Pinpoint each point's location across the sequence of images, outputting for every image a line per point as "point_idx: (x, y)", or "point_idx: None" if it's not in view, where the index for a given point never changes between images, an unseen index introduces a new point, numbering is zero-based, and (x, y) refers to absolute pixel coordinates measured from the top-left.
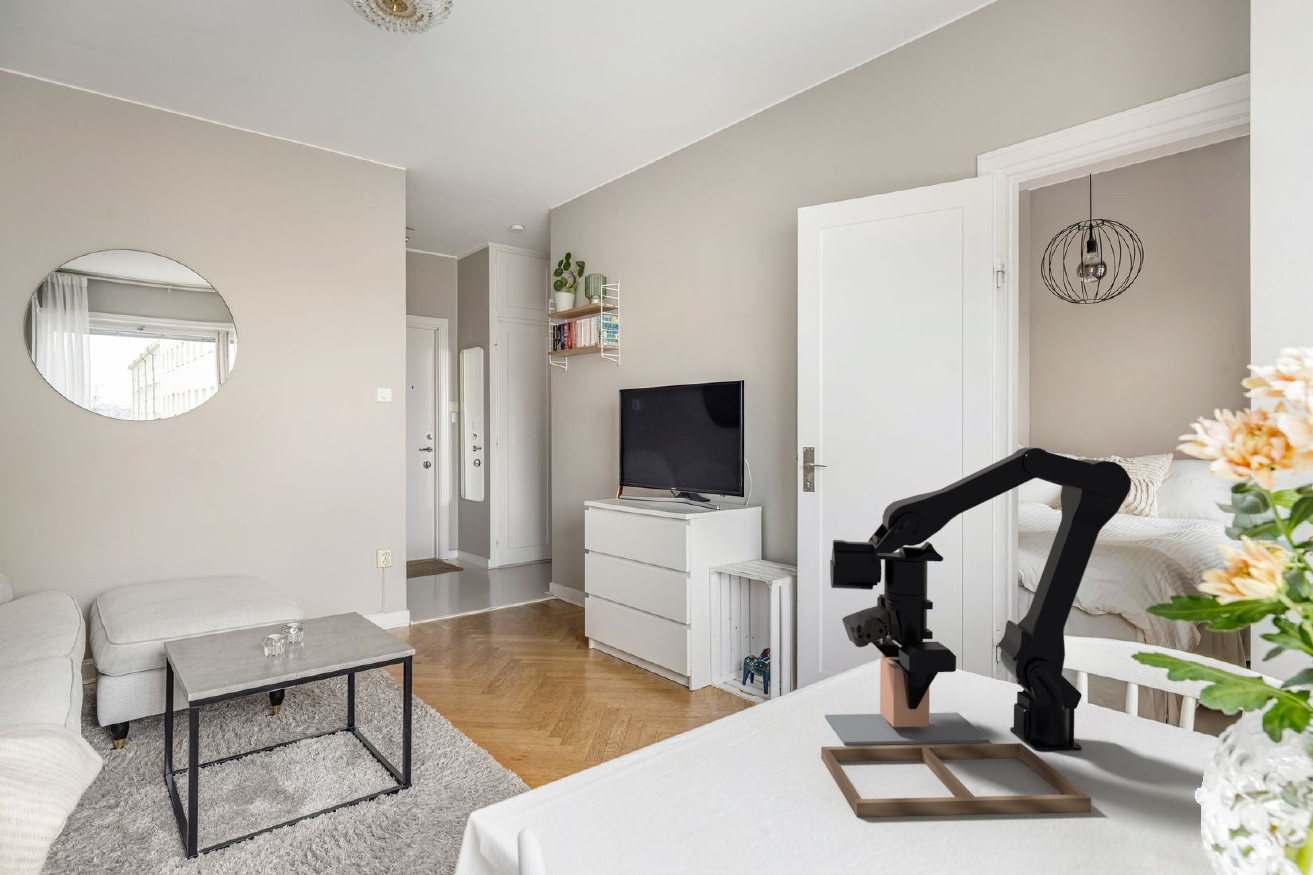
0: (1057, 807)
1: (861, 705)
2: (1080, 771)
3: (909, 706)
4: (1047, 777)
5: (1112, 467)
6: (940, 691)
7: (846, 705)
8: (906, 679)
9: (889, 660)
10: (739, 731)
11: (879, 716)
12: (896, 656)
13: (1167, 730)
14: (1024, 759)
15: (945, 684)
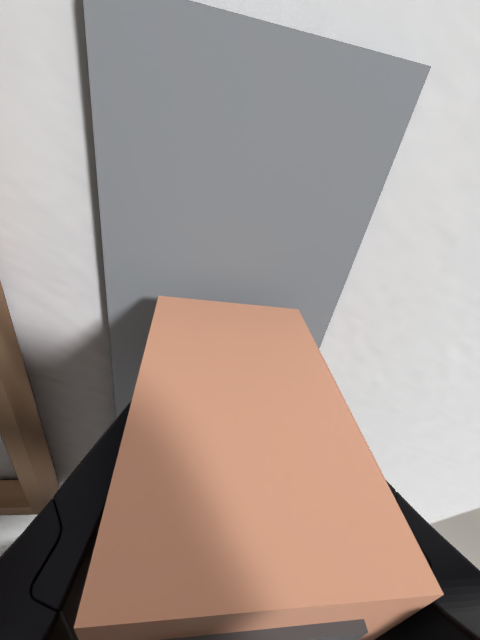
0: None
1: (433, 296)
2: (5, 524)
3: (128, 404)
4: None
5: None
6: (392, 477)
7: (464, 247)
8: (13, 569)
9: (331, 618)
10: None
11: (314, 305)
12: (393, 629)
13: None
14: (14, 486)
15: (413, 492)
